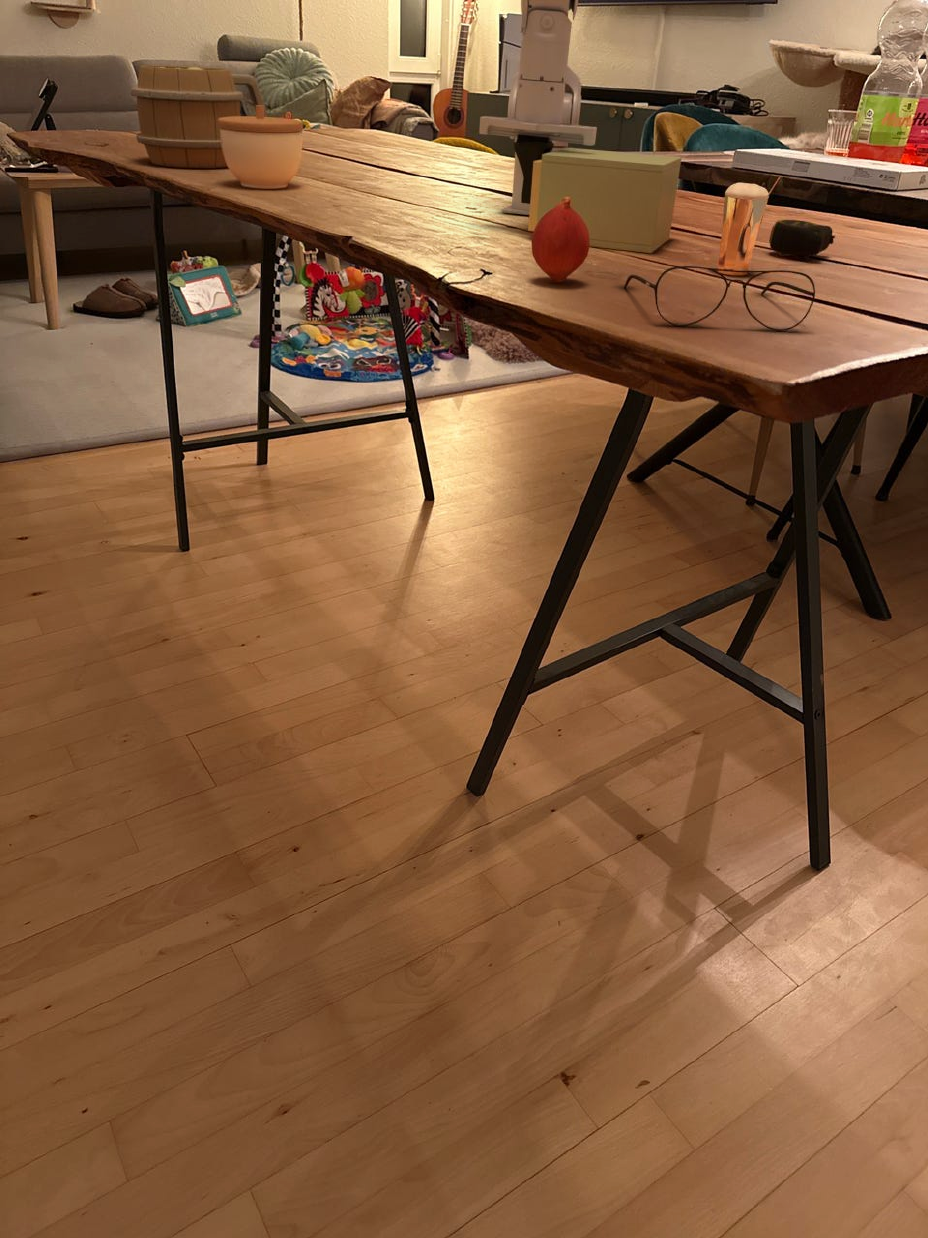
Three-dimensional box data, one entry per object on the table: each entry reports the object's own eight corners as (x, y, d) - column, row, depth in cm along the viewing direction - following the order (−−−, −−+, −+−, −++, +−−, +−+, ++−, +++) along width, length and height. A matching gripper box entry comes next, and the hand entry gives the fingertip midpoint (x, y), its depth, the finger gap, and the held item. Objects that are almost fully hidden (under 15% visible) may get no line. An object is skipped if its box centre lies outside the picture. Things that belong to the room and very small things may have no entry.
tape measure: (815, 264, 111) (823, 230, 109) (759, 255, 114) (765, 222, 112) (830, 256, 116) (838, 223, 114) (776, 248, 119) (782, 216, 117)
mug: (296, 166, 169) (292, 70, 161) (170, 171, 155) (159, 66, 147) (242, 155, 181) (236, 65, 173) (120, 159, 166) (107, 61, 158)
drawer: (518, 229, 116) (523, 160, 112) (543, 218, 125) (548, 153, 121) (634, 242, 112) (644, 171, 108) (651, 230, 120) (661, 163, 116)
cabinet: (535, 239, 116) (542, 153, 111) (560, 227, 125) (568, 147, 120) (651, 253, 111) (664, 164, 106) (669, 239, 121) (681, 157, 116)
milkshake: (753, 280, 101) (773, 178, 95) (705, 272, 103) (723, 172, 98) (765, 273, 104) (785, 175, 99) (719, 266, 106) (736, 169, 101)
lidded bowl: (321, 186, 148) (319, 107, 142) (266, 193, 138) (261, 109, 133) (262, 178, 153) (257, 101, 147) (205, 184, 144) (198, 102, 138)
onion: (519, 282, 94) (525, 196, 90) (542, 273, 98) (549, 190, 94) (572, 290, 92) (581, 202, 88) (593, 281, 96) (603, 196, 92)
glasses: (649, 325, 81) (656, 264, 79) (621, 305, 95) (627, 253, 93) (810, 332, 82) (822, 272, 80) (760, 312, 95) (769, 259, 93)
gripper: (473, 75, 111) (466, 199, 118) (591, 86, 107) (576, 213, 114) (494, 75, 116) (485, 193, 124) (606, 85, 112) (591, 206, 120)
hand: (530, 202), depth 119 cm, fingers closed, pressing on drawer
